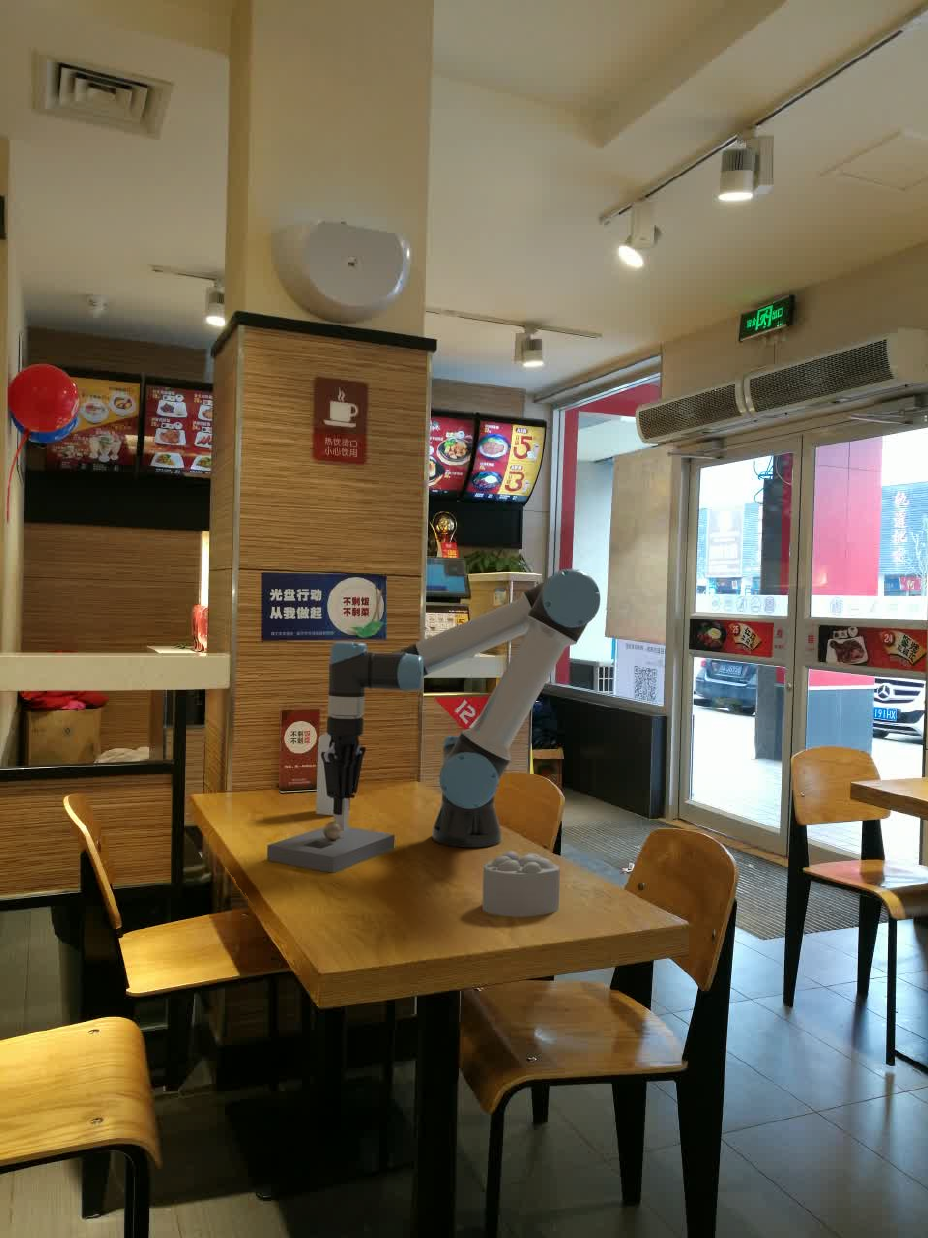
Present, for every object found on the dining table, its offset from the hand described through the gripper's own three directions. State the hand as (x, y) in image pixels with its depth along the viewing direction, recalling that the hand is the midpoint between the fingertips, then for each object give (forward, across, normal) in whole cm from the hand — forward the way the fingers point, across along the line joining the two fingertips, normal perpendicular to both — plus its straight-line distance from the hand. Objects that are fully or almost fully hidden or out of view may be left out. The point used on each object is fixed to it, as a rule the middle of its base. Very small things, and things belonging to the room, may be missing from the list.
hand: (340, 829), depth 194 cm
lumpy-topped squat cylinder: (+4, +12, +47) cm, 48 cm away
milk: (+5, -28, -23) cm, 37 cm away
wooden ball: (0, +3, 0) cm, 3 cm away
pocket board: (+5, +3, +1) cm, 6 cm away
